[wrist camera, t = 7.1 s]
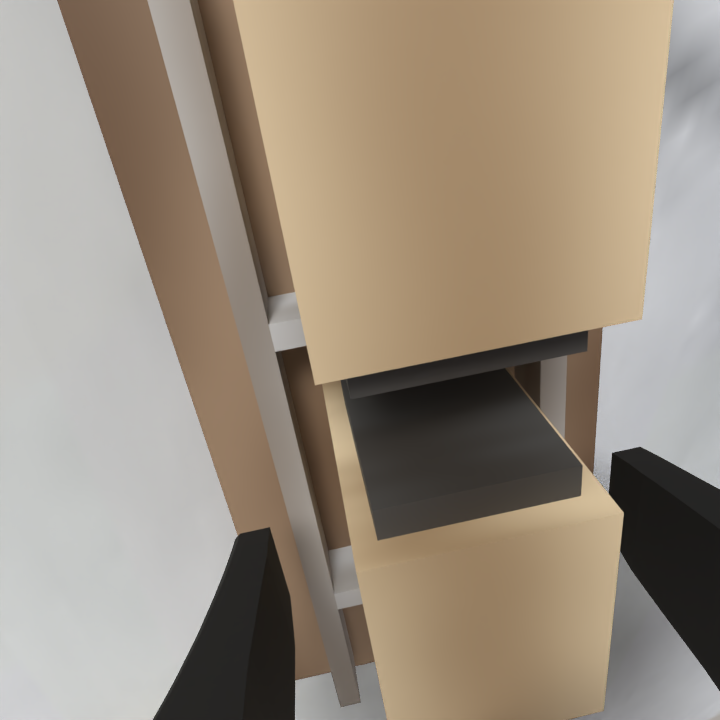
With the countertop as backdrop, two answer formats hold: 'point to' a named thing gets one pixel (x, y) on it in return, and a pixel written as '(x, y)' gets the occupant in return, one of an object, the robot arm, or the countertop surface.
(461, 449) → the block
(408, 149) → the rail board
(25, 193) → the countertop surface
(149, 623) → the countertop surface
